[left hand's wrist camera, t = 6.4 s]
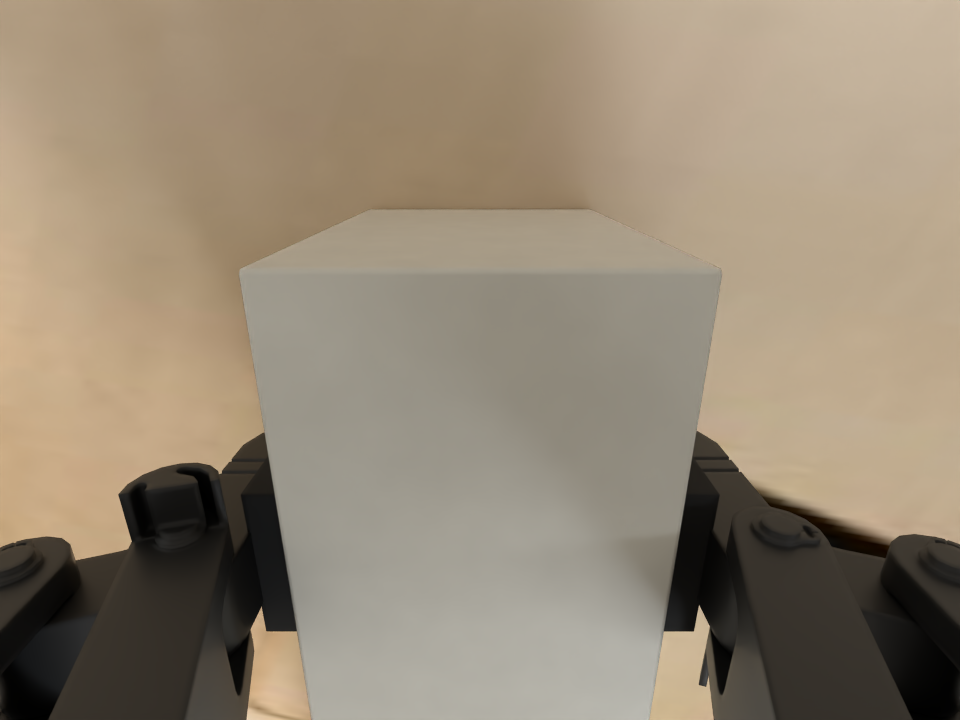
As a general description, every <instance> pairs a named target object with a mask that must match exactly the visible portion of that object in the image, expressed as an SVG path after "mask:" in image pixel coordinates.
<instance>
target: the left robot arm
mask: <svg viewBox="0 0 960 720" xmlns="http://www.w3.org/2000/svg"><path fill="white" fill-rule="evenodd" d="M118 495H119V498H120V502H121V505H122V509H123V512H124V516H125V519H126V523H127V526H128V530H129V533H130V537H131V540H132V542H131V545H130V547H129V549H127V550H124V551H120V552H115V553H110V554H106V555H101V556H96V557H91V558H86V559H81V560H75V557H74V554H73V551H72V548H71V545H70V544H69V543H68V542H66V541H65V540H64V539H62V538H55V537H40V538H33V539H25V540H21V541H17V542H16V543H11V544H8V545H5V546H3V547H1V548H0V720H246V718H247V709H248V701H249V692H250V683H251V675H252V666H253V658H254V646H253V639H252V634H251V630H250V629H251V627H252V625H253V623H254V621H255V619H256V617H257V615H258V613H259V610H260V608H261V606H262V610H263V616H264V621H265V626H266V631H297V628H296V622H295V616H294V610H293V603H292V597H291V591H290V585H289V579H288V573H287V567H286V560H285V554H284V548H283V542H282V536H281V530H280V524H279V517H278V511H277V505H276V499H275V493H274V487H273V481H272V474H271V468H270V462H269V456H268V450H267V444H266V438H265V433H262V434H260V435H259V436H257V437H256V438H254V439H252V440H251V441H249V442H247V443H246V444H244V445H243V446H242V447H241V449H240V450H239V451H238V452H237V453H236V455H235V456H234V457H233V458H232V462H229V463H228V464H227V466H226V467H225V468H224V469H223V470H222V474H219V473H218V471H217V470H216V469H215V468H213V467H212V466H210V465H206V464H201V463H182V464H176V465H171V466H167V467H162V468H159V469H157V470H154V471H152V472H149V473H147V474H144V475H142V476H140V477H139V478H137V479H136V480H134V481H132V482H131V483H129V484H128V485H127V486H126V487H125V488H124V489H123V490H122V491H121V492H120V493H119V494H118ZM699 605H700V607H701V609H702V611H703V613H704V615H705V617H706V619H707V621H708V623H709V626H710V630H709V634H708V639H707V644H706V649H705V654H704V659H703V664H702V669H701V674H700V680H699V685H701V686H705V687H706V685H707V680H708V675H709V682H710V691H711V699H712V708H713V716H714V720H960V544H957V543H954V542H952V541H949V540H948V541H946V540H945V539H942V538H937V537H931V536H924V535H917V534H912V535H903V536H899V537H897V538H896V539H894V540H893V541H892V542H891V544H890V547H889V550H888V553H887V556H886V558H881V557H876V556H871V555H866V554H861V553H856V552H851V551H847V550H842V549H838V548H834V547H831V546H830V544H829V541H828V540H827V539H826V537H825V536H824V535H823V533H822V532H821V531H820V530H819V529H818V528H817V527H815V526H814V525H812V524H811V523H810V522H808V521H807V520H806V519H803V518H801V517H799V516H797V515H795V514H792V513H790V512H788V511H784V510H780V509H776V508H772V507H770V506H769V505H768V504H767V503H766V501H765V500H764V499H763V498H762V497H761V495H760V494H759V493H758V492H757V491H756V489H755V488H754V487H753V486H752V485H751V483H750V482H749V481H748V480H747V479H746V477H745V476H744V475H743V474H742V473H741V472H739V469H738V468H737V467H736V465H735V464H734V463H733V462H732V460H729V457H728V456H727V454H726V453H725V452H724V451H723V450H722V448H721V447H720V446H719V445H718V444H717V443H716V442H714V441H713V440H711V439H709V438H708V437H706V436H705V435H703V434H701V433H700V432H698V431H696V437H695V443H694V449H693V455H692V461H691V467H690V473H689V479H688V486H687V492H686V498H685V504H684V510H683V516H682V522H681V528H680V534H679V541H678V547H677V553H676V559H675V565H674V571H673V577H672V583H671V589H670V596H669V602H668V608H667V614H666V620H665V626H664V631H694V628H695V623H696V617H697V612H698V607H699Z"/></svg>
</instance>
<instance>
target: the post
mask: <svg viewBox="0 0 960 720" xmlns="http://www.w3.org/2000/svg"><path fill="white" fill-rule="evenodd" d="M239 278H240V284H241V290H242V296H243V303H244V309H245V315H246V321H247V327H248V333H249V339H250V346H251V352H252V358H253V364H254V370H255V376H256V382H257V389H258V395H259V401H260V407H261V413H262V419H263V425H264V431H265V438H266V444H267V450H268V456H269V462H270V468H271V474H272V481H273V487H274V493H275V499H276V505H277V511H278V517H279V524H280V530H281V536H282V542H283V548H284V554H285V560H286V567H287V573H288V579H289V585H290V591H291V597H292V603H293V610H294V616H295V622H296V628H297V634H298V640H299V646H300V653H301V659H302V665H303V671H304V677H305V683H306V689H307V695H308V702H309V708H310V714H311V720H649V718H650V712H651V706H652V700H653V693H654V687H655V681H656V675H657V669H658V663H659V657H660V651H661V645H662V638H663V632H664V626H665V620H666V614H667V608H668V602H669V596H670V589H671V583H672V577H673V571H674V565H675V559H676V553H677V547H678V541H679V534H680V528H681V522H682V516H683V510H684V504H685V498H686V492H687V486H688V479H689V473H690V467H691V461H692V455H693V449H694V443H695V437H696V431H697V424H698V418H699V412H700V406H701V400H702V394H703V388H704V382H705V376H706V369H707V363H708V357H709V351H710V345H711V339H712V333H713V327H714V321H715V314H716V308H717V302H718V296H719V290H720V284H721V278H722V272H721V269H720V268H718V267H716V266H714V265H712V264H709V263H707V262H705V261H703V260H701V259H698V258H696V257H694V256H692V255H690V254H687V253H685V252H683V251H681V250H679V249H676V248H674V247H672V246H670V245H668V244H665V243H663V242H661V241H659V240H657V239H655V238H652V237H650V236H648V235H646V234H644V233H641V232H639V231H637V230H635V229H633V228H630V227H628V226H626V225H624V224H622V223H619V222H617V221H615V220H613V219H611V218H608V217H606V216H604V215H602V214H600V213H597V212H595V211H593V210H591V209H369V210H367V211H365V212H363V213H360V214H358V215H356V216H354V217H352V218H350V219H347V220H345V221H343V222H341V223H339V224H337V225H334V226H332V227H330V228H328V229H326V230H323V231H321V232H319V233H317V234H315V235H313V236H310V237H308V238H306V239H304V240H302V241H300V242H297V243H295V244H293V245H291V246H289V247H286V248H284V249H282V250H280V251H278V252H276V253H273V254H271V255H269V256H267V257H265V258H262V259H260V260H258V261H256V262H254V263H252V264H249V265H247V266H245V267H243V268H241V269H240V271H239Z"/></svg>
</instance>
